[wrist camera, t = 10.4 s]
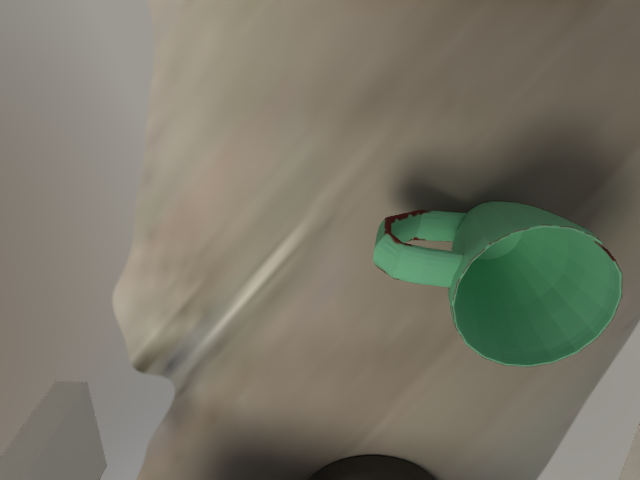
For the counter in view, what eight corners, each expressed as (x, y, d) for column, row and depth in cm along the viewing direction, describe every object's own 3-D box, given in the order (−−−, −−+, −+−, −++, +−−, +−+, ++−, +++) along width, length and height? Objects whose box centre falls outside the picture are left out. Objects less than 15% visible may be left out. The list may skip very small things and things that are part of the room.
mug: (578, 185, 37) (655, 246, 28) (524, 297, 41) (577, 381, 32) (384, 140, 36) (400, 187, 27) (349, 259, 40) (354, 334, 31)
